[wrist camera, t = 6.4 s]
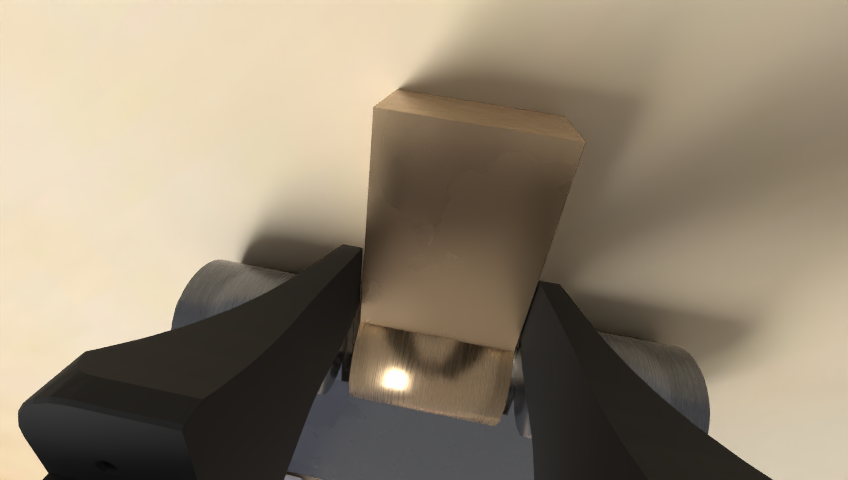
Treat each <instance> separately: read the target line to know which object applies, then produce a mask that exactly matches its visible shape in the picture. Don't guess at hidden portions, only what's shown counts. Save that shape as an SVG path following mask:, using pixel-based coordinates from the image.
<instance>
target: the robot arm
mask: <svg viewBox="0 0 848 480" xmlns="http://www.w3.org/2000/svg"><path fill="white" fill-rule="evenodd" d="M361 268H362V248H359V247H354V246H348V245H342V246H340V247H339V248H337V249H335V250H334V251H332V252H331V253H330V254H328V255H327V256H325V257H324V258H322V259H321V260H319V261H318V262H316V263H315V264H313V265H312V266H310V267H309V268H307V269H306V270H304V271H302V272H301V273H299V274H298V275H296V276H294V277H293V278H291V279H289V280H288V281H286V282H284V283H282V284H281V285H279V286H277V287H275V288H274V289H272V290H270V291H268V292H266V293H264V294H262V295H260V296H258V297H256V298H254V299H252V300H250V301H248V302H246V303H243V304H241V305H239V306H237V307H234V308H232V309H230V310H227V311H224V312H222V313H219V314H217V315H214V316H211V317H209V318H206V319H203V320H201V321H198V322H195V323H192V324H189V325H186V326H183V327H180V328H177V329H174V330H170V331H167V332H164V333H160V334H157V335H153V336H150V337H146V338H142V339H138V340H134V341H130V342H126V343H121V344H117V345H113V346H109V347H104V348H100V349H96V350H91V351H86V352H84V353H83V354H82V355H81V356H79V357H78V358H77V359H76V360H74V361H73V362H72V363H71V364H70V365H68V366H67V367H66V368H65V369H64V370H62V371H61V372H60V373H59V374H58V375H56V376H55V377H54V378H53V379H52V380H50V381H49V382H48V383H47V384H45V385H44V386H43V387H42V388H41V389H39V390H38V391H37V392H36V393H35V394H33V395H32V396H31V397H30V398H29V399H27V400H26V401H25V402H24V403H23V404H22V406H21V407H20V409H19V411H18V422H19V427H20V429H21V431H22V433H23V435H24V437H25V439H26V440H27V442H28V443H29V445H30V446H31V448H32V449H33V451H34V452H35V454H36V455H37V457H38V458H39V460H40V461H41V463H42V464H43V465H44V467H45V468H46V470H47V471H48V475H47V476H46V477H45V478H44V479H43V480H302V479H301V478H299V477H296V476H291V475H287V474H286V473H287V470H288V468H289V465H290V462H291V459H292V457H293V454H294V451H295V449H296V446H297V443H298V441H299V438H300V435H301V433H302V430H303V427H304V425H305V422H306V420H307V417H308V414H309V412H310V409H311V407H312V404H313V402H314V400H315V397H316V395H317V393H318V391H319V389H320V387H321V385H322V383H323V381H324V379H325V377H326V375H327V373H328V371H329V369H330V367H331V365H332V363H333V361H334V359H335V357H336V355H337V353H338V351H339V349H340V347H341V345H342V343H343V341H344V339H345V337H346V335H347V333H348V331H349V329H350V327H351V324H352V321H353V319H354V316H355V313H356V310H357V307H358V304H359V301H360V287H361ZM521 363H522V371H523V378H524V386H525V393H526V400H527V407H528V414H529V421H530V428H531V436H532V446H533V467H534V480H772V479H771V478H769V477H768V476H766V475H765V474H763V473H762V472H760V471H759V470H757V469H755V468H754V467H752V466H751V465H749V464H748V463H746V462H745V461H744V460H742V459H741V458H739V457H738V456H737V455H735V454H734V453H732V452H731V451H730V450H728V449H727V448H725V447H724V446H723V445H721V444H720V443H718V442H717V441H716V440H714V439H713V438H712V437H710V436H709V435H708V434H706V433H705V432H704V431H702V430H701V429H700V428H698V427H697V426H696V425H695V424H693V423H692V422H691V421H690V420H688V419H687V418H686V417H685V416H684V415H682V414H681V413H680V412H679V411H677V410H676V409H675V408H674V407H673V406H671V405H670V404H669V403H668V402H667V401H665V400H664V399H663V398H662V397H661V396H660V395H659V394H657V393H656V392H655V391H654V390H653V389H652V388H651V387H650V386H649V385H648V384H647V383H646V382H644V381H643V380H642V379H641V378H640V377H639V376H638V375H637V374H636V373H635V372H634V371H633V370H632V369H631V368H630V367H629V366H628V365H627V364H626V363H625V362H624V361H623V360H622V359H621V358H620V357H619V356H618V354H617V353H616V352H615V351H614V350H613V349H612V348H611V347H610V346H609V345H608V344H607V342H606V341H605V340H604V339H603V338H602V337H601V336H600V334H599V333H598V332H597V331H596V330H595V328H594V327H593V326H592V325H591V324H590V322H589V321H588V320H587V319H586V317H585V316H584V315H583V314H582V312H581V311H580V310H579V308H578V307H577V306H576V305H575V303H574V302H573V301H572V299H571V298H570V297H569V296H568V294H567V293H566V292H565V290H564V289H563V288H562V287H561V286H560V285H559V284H554V283H549V282H543V281H538V284H537V287H536V290H535V293H534V296H533V299H532V302H531V305H530V308H529V311H528V313H527V316H526V319H525V322H524V325H523V328H522V331H521Z"/></svg>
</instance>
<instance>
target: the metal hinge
mask: <svg viewBox="0 0 848 480" xmlns="http://www.w3.org/2000/svg"><path fill="white" fill-rule="evenodd" d="M296 275H298V274H294V273H289V272H284V271H279V270H273V269H268V268H263V267H258V266H253V265H247V264H242V263H237V262H232V261H226V260H215V261H212V262H210V263H208V264H206V265H205V266H203V267H202V268H201V269H200V270H199V271H198V272H197V273H196V274H195V275H194V276H193V277H192V279H191V280H190V281H189V283H188V284H187V286H186V288H185V289H184V291H183V293H182V295H181V297H180V299H179V301H178V303H177V305H176V308H175V313H174V317H173V321H172V328H171V330H174V329H177V328H180V327H183V326H186V325H189V324H192V323H195V322H198V321H201V320H203V319H206V318H209V317H211V316H214V315H217V314H219V313H222V312H224V311H227V310H230V309H232V308H234V307H237V306H239V305H241V304H243V303H246V302H248V301H250V300H252V299H254V298H256V297H258V296H260V295H262V294H264V293H266V292H268V291H270V290H272V289H274V288H275V287H277V286H279V285H281V284H282V283H284V282H286V281H288V280H289V279H291V278H293V277H294V276H296ZM353 321H354V319H353ZM353 321H352V324H351V327H350V329H349V331H348V333H347V335H346V337H345V339H344V341H343V343H342V345H341V347H340V349H339V351H338V353H337V355H336V357H335V359H334V361H333V363H332V365H331V367H330V369H329V371H328V373H327V375H326V377H325V379H324V381H323V383H322V385H321V387H320V389H319V391H318V393H317V395H316V397H315V400H314V402H313V404H312V407H311V409H310V412H309V414H308V417H307V420H306V422H305V425H304V427H303V430H302V433H301V435H300V438H299V441H298V443H297V446H296V449H295V451H294V454H293V457H292V459H291V462H290V465H289V468H288V470H287V471H288V472H293V473H297V474H302V475H306V476H311V477H315V478H320V479H324V480H534V467H533V446H532V436H531V428H530V421H529V414H528V407H527V400H526V393H525V386H524V378H523V371H522V363H521V344H520V347H519V350H518V353H517V356H516V358H515V361H514V364H513V367H512V375H511V381H510V387H509V392H508V397H507V401H506V405H505V408H504V411H503V414H502V417H501V419H500V421H499V423H498V424H497V425H496V426H490V425H485V424H480V423H476V422H471V421H466V420H461V419H457V418H452V417H447V416H442V415H437V414H433V413H428V412H423V411H418V410H414V409H409V408H404V407H399V406H395V405H390V404H385V403H380V402H376V401H371V400H366V399H361V398H356V397H352V396H351V395H350V392H349V378H350V369H351V362H352V356H353V354H352V345H353ZM597 332H598V331H597ZM598 333H599V334H600V336H601V337H602V338H603V339H604V340H605V341H606V342H607V344H608V345H609V346H610V347H611V348H612V349H613V350H614V351H615V352H616V353H617V354H618V356H619V357H620V358H621V359H622V360H623V361H624V362H625V363H626V364H627V365H628V366H629V367H630V368H631V369H632V370H633V371H634V372H635V373H636V374H637V375H638V376H639V377H640V378H641V379H642V380H643V381H644V382H646V383H647V384H648V385H649V386H650V387H651V388H652V389H653V390H654V391H655V392H656V393H657V394H659V395H660V396H661V397H662V398H663V399H664V400H665V401H667V402H668V403H669V404H670V405H671V406H673V407H674V408H675V409H676V410H677V411H679V412H680V413H681V414H682V415H684V416H685V417H686V418H687V419H688V420H690V421H691V422H692V423H693V424H695V425H696V426H697V427H698V428H700V429H701V430H702V431H704V432H705V433H706V434H708V429H709V420H710V406H709V397H708V392H707V387H706V384H705V380H704V377H703V375H702V373H701V370H700V368H699V367H698V365H697V363H696V362H695V360H694V359H693V358H692V357H691V355H690V354H689V353H687V352H686V351H685V350H683V349H681V348H679V347H676V346H671V345H666V344H661V343H656V342H650V341H645V340H640V339H635V338H629V337H624V336H619V335H614V334H608V333H603V332H598Z"/></svg>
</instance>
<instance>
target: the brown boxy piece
mask: <svg viewBox="0 0 848 480" xmlns="http://www.w3.org/2000/svg"><path fill="white" fill-rule="evenodd" d="M584 145H585V141H584V140H583V138H582V137H581V136H580V135H579V133H578V132H577V131H576V130H575V129H574V127H573V126H572V125H571V124H570V122H569V121H568V120H567V119H566V118H565V116H560V115H553V114H547V113H541V112H535V111H529V110H522V109H516V108H510V107H504V106H498V105H491V104H485V103H479V102H473V101H467V100H461V99H454V98H448V97H442V96H436V95H430V94H423V93H417V92H411V91H405V90H399V89H397V90H396V91H394V92H393V93H392V94H390V95H389V96H388V97H386V98H385V99H384V100H382V101H381V102H380V103H378V104H377V105H376V106H374V107H373V123H372V139H371V156H370V172H369V188H368V205H367V221H366V237H365V254H364V270H363V286H362V303H361V319H360V325H359V329H358V333H357V337H356V341H355V346H354V351H353V356H352V362H351V369H350V378H349V392H350V395H351V396H352V397H356V398H361V399H366V400H371V401H376V402H380V403H385V404H390V405H395V406H399V407H404V408H409V409H414V410H418V411H423V412H428V413H433V414H437V415H442V416H447V417H452V418H457V419H461V420H466V421H471V422H476V423H480V424H485V425H490V426H496V425H497V424H498V423H499V421H500V419H501V417H502V414H503V411H504V408H505V405H506V401H507V397H508V392H509V387H510V381H511V375H512V367H513V358H514V351H515V348H516V345H517V342H518V339H519V336H520V333H521V330H522V327H523V324H524V321H525V318H526V315H527V312H528V310H529V307H530V304H531V301H532V298H533V295H534V292H535V289H536V286H537V283H538V280H539V277H540V274H541V271H542V269H543V266H544V263H545V260H546V257H547V254H548V251H549V248H550V245H551V242H552V239H553V236H554V233H555V230H556V227H557V225H558V222H559V219H560V216H561V213H562V210H563V207H564V204H565V201H566V198H567V195H568V192H569V189H570V186H571V184H572V181H573V178H574V175H575V172H576V169H577V166H578V163H579V160H580V157H581V154H582V151H583V148H584Z"/></svg>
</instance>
